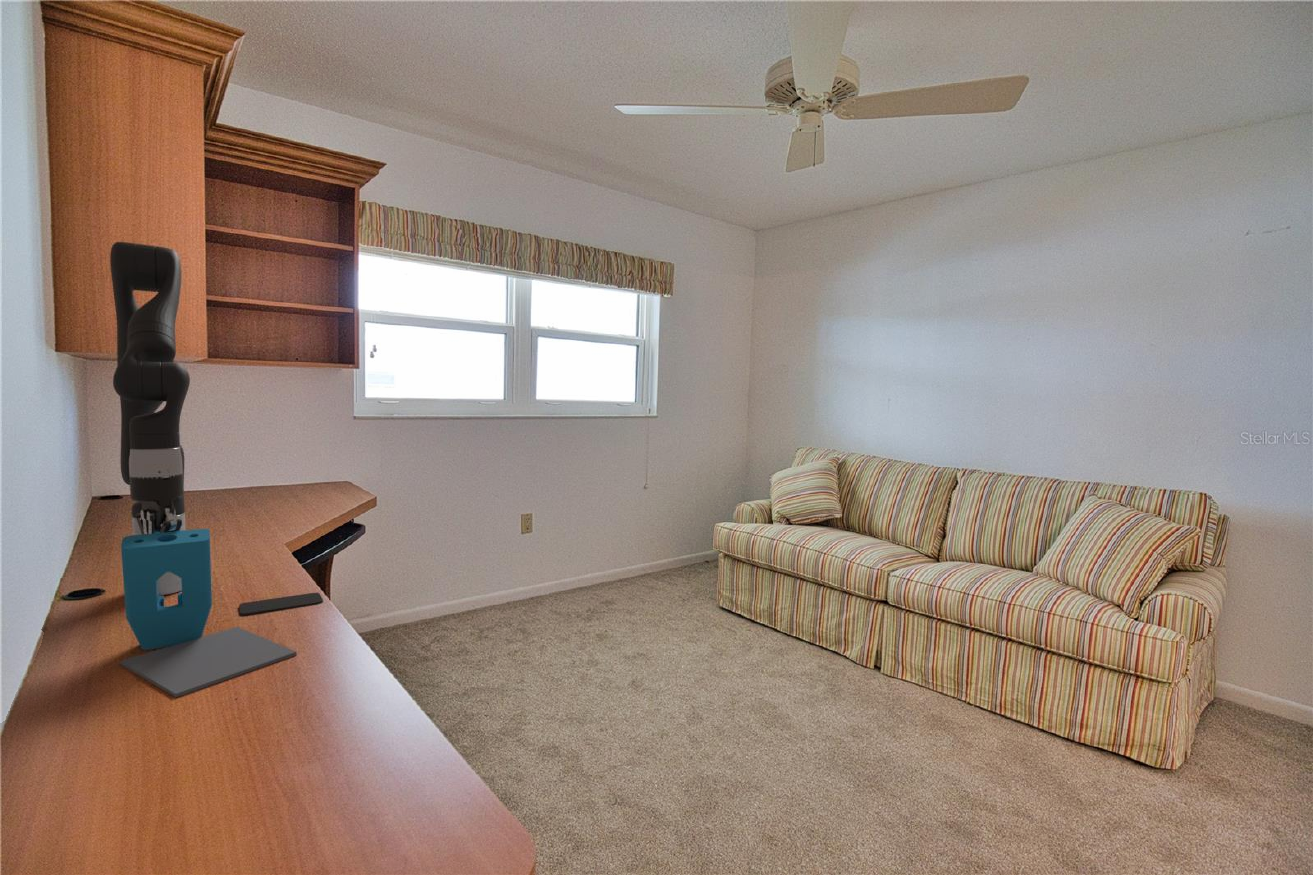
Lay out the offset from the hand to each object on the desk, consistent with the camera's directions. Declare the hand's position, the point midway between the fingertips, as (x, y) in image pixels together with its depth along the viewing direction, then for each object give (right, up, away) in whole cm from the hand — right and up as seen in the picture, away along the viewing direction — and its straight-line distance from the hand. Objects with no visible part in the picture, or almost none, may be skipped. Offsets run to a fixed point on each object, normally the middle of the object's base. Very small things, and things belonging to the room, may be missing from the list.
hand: (160, 566), depth 114 cm
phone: (+11, -13, +19) cm, 25 cm away
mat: (+15, -14, -8) cm, 22 cm away
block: (+3, -13, 0) cm, 13 cm away
